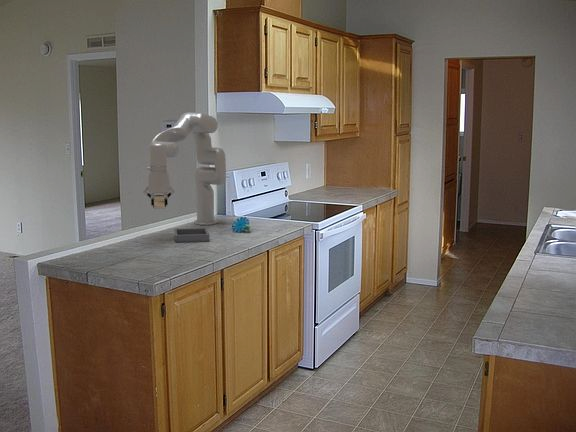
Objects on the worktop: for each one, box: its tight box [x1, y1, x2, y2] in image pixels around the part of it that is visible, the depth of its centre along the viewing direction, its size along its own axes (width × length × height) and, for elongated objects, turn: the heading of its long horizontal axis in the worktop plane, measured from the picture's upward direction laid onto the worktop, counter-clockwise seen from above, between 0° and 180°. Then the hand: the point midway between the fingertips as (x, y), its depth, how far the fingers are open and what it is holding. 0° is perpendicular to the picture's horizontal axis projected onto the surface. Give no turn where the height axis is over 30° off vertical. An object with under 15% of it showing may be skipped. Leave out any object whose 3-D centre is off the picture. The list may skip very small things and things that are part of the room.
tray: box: [174, 227, 210, 244], centre depth 307 cm, size 16×16×4 cm
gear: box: [231, 216, 251, 233], centre depth 327 cm, size 11×6×10 cm
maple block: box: [153, 194, 166, 210], centre depth 299 cm, size 5×5×6 cm
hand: (159, 206), depth 299 cm, fingers closed on maple block, 5 cm apart
